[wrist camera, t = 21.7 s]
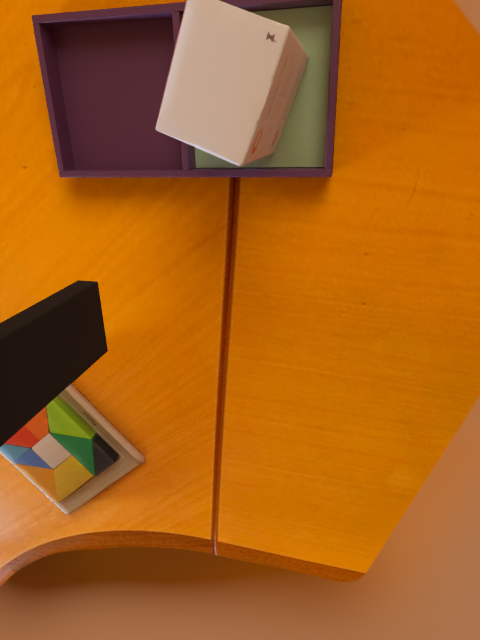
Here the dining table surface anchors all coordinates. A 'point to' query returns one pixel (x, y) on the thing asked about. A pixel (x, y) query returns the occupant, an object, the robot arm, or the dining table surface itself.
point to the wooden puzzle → (71, 451)
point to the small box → (231, 81)
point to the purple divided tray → (149, 85)
